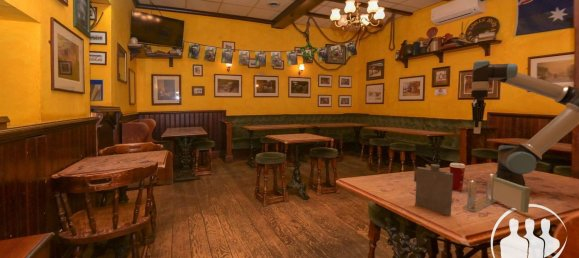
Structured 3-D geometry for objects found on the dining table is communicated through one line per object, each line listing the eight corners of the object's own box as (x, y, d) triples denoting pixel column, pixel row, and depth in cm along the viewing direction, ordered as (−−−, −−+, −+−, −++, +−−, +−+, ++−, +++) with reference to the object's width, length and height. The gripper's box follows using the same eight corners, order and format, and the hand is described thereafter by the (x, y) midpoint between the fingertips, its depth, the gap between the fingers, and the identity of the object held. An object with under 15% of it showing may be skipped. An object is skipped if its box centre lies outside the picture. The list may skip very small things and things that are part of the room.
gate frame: (486, 198, 145) (487, 172, 144) (497, 200, 141) (499, 174, 140) (463, 208, 130) (464, 180, 129) (475, 212, 126) (477, 182, 125)
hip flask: (413, 205, 135) (415, 162, 133) (419, 203, 137) (421, 161, 135) (448, 216, 121) (450, 168, 120) (453, 214, 123) (456, 167, 122)
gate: (491, 198, 140) (493, 177, 139) (496, 198, 140) (497, 177, 139) (523, 212, 122) (525, 188, 121) (528, 212, 122) (530, 188, 121)
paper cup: (466, 191, 156) (468, 165, 154) (450, 190, 157) (452, 165, 156) (461, 187, 163) (462, 162, 162) (446, 186, 165) (447, 162, 164)
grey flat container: (427, 179, 182) (427, 164, 181) (431, 180, 179) (432, 165, 178) (413, 181, 177) (414, 165, 176) (417, 182, 174) (418, 166, 174)
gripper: (477, 90, 166) (474, 132, 168) (466, 89, 158) (464, 133, 160) (492, 90, 160) (489, 133, 162) (482, 89, 152) (479, 134, 154)
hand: (476, 133), depth 161 cm, fingers closed
